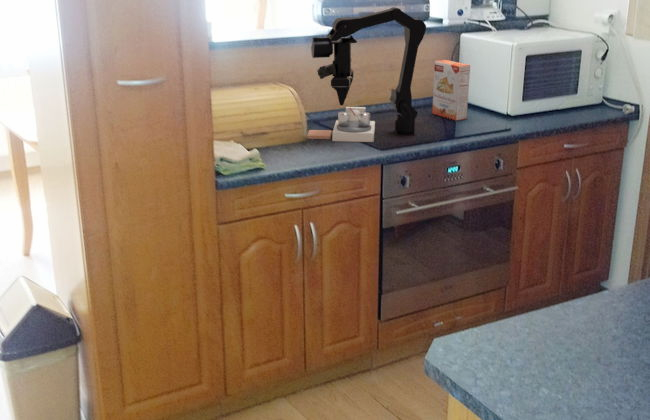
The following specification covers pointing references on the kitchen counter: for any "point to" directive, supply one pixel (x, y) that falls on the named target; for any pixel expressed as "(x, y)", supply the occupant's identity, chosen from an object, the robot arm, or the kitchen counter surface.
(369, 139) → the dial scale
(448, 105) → the cracker box
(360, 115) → the cylinder
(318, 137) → the rubber mat
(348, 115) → the cylinder
